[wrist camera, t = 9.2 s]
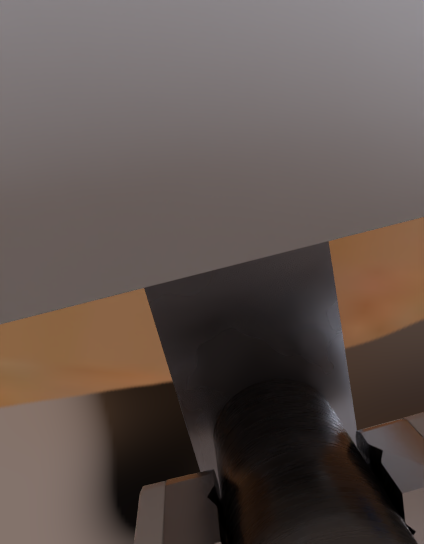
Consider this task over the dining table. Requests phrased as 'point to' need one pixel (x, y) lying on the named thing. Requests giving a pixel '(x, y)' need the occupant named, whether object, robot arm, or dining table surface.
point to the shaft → (273, 401)
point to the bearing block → (197, 137)
